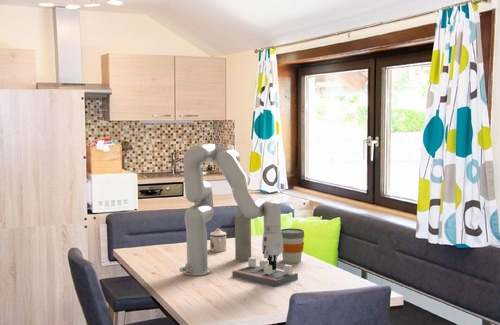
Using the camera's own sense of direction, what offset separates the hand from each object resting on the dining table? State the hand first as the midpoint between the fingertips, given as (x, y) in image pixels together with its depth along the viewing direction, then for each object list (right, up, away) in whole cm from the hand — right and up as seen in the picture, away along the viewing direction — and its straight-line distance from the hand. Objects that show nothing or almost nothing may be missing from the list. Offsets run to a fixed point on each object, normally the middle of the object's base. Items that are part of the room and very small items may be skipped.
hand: (272, 269), depth 283 cm
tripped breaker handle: (-2, -2, -2) cm, 3 cm away
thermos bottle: (-13, -1, +36) cm, 38 cm away
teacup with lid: (-27, 0, +55) cm, 61 cm away
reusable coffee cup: (+11, -1, +33) cm, 35 cm away
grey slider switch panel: (-3, -4, +2) cm, 6 cm away
